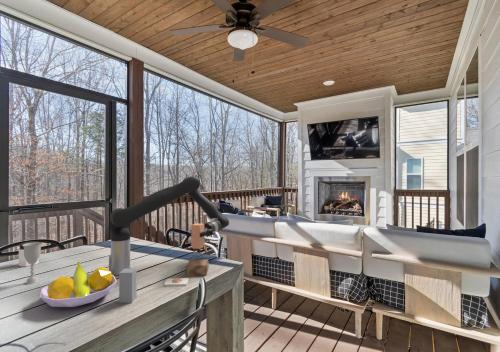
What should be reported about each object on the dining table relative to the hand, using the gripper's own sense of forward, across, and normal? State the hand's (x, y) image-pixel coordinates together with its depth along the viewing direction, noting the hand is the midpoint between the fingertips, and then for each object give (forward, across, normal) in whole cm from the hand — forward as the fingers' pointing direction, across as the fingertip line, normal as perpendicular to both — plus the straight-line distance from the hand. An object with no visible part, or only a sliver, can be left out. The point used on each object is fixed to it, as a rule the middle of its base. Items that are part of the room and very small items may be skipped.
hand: (195, 234), depth 140 cm
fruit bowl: (+39, -32, +20) cm, 54 cm away
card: (+13, -3, +20) cm, 24 cm away
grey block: (+35, -12, +20) cm, 42 cm away
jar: (+15, -97, +20) cm, 100 cm away
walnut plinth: (-3, 0, +20) cm, 20 cm away
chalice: (+33, -68, +20) cm, 78 cm away
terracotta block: (-3, 0, +7) cm, 7 cm away
